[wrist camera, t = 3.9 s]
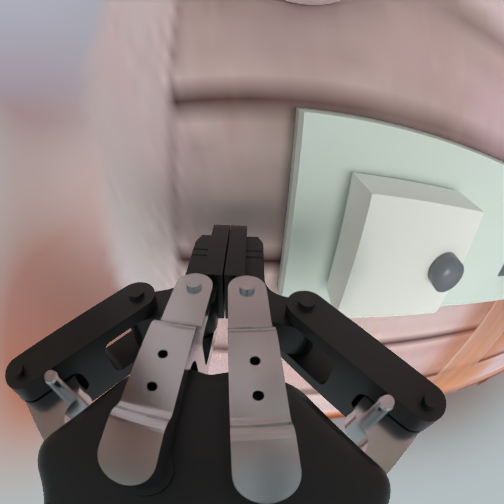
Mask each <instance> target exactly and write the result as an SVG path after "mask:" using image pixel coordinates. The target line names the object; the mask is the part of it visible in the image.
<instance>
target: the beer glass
mask: <svg viewBox="0 0 504 504" xmlns="http://www.w3.org/2000/svg"><path fill="white" fill-rule="evenodd" d="M285 1H288V2H292V3H296V4H303V5H325V4H331V3H334V2H338V1H340V0H285Z"/></svg>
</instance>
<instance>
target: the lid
mask: <svg viewBox="0 0 504 504" xmlns="http://www.w3.org/2000/svg"><path fill="white" fill-rule="evenodd" d="M483 215H484V212H483V211H482V210H481V209H480V208H479V207H477V206H476V205H475V204H474V203H473V202H471V201H470V200H469V199H468V198H466V197H465V196H464V195H463V194H461V193H460V192H459V191H455V190H451V189H446V188H442V187H437V186H432V185H427V184H422V183H417V182H412V181H406V180H401V179H395V178H389V177H382V176H376V175H369V174H362V173H354V172H353V173H352V178H351V184H350V189H349V194H348V199H347V204H346V209H345V213H344V218H343V222H342V227H341V231H340V235H339V240H338V244H337V248H336V252H335V256H334V260H333V264H332V268H331V271H330V275H329V279H328V283H327V286H326V288H327V291H328V295H329V298H330V302H331V305H332V306H333V307H335V308H336V309H337V310H339V311H340V312H341V313H343V314H344V315H345V316H346V317H348V318H368V317H387V316H403V315H416V314H427V313H436V312H437V310H438V308H439V307H440V305H441V303H442V301H443V300H444V298H445V296H446V294H447V293H448V291H449V290H450V289H452V288H453V287H454V286H455V285H456V284H457V283H458V282H459V281H460V279H461V278H462V276H463V273H464V266H463V262H464V260H465V258H466V255H467V253H468V251H469V249H470V247H471V244H472V242H473V240H474V237H475V235H476V233H477V230H478V228H479V225H480V223H481V220H482V217H483Z"/></svg>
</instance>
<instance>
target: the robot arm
mask: <svg viewBox="0 0 504 504" xmlns="http://www.w3.org/2000/svg"><path fill="white" fill-rule="evenodd" d="M224 314H226V318H228V369H229V372H228V373H222V374H215V375H208V370H209V365H210V360H211V356H212V351H213V346H214V342H215V337H216V328H217V323H218V318H224ZM130 328H131V330H132V331H130V332H129V333H127V334H126V335H124V336H123V337H122V338H120V339H119V340H117V341H116V342H114V343H113V344H111V345H110V346H108V347H107V348H106V346H107V344H108V343H109V342H111V341H112V340H113V339H115V338H116V337H118V336H119V335H121V334H122V333H124V332H125V331H127V330H128V329H130ZM281 357H282V358H283V359H284V360H285V361H286V362H287V363H288V364H289V365H290V366H291V367H292V368H293V369H294V370H295V371H296V372H297V373H298V374H299V375H300V376H301V377H303V378H304V379H305V380H306V381H307V382H308V383H309V384H310V385H311V386H312V387H313V388H314V389H315V390H317V391H318V392H319V393H320V394H321V395H322V396H323V397H324V398H325V399H326V400H327V401H329V402H330V403H331V404H332V405H333V406H334V407H335V408H336V409H338V410H339V411H340V412H341V413H342V414H343V415H344V416H345V417H346V419H345V430H346V432H347V434H348V435H349V436H350V438H351V439H352V440H351V439H350V438H348V437H347V436H346V435H345V434H344V433H343V432H342V431H341V430H340V429H339V428H338V427H337V426H336V425H335V424H334V423H333V422H332V421H331V420H330V419H329V418H328V417H327V416H326V415H325V414H324V413H323V412H322V411H321V410H320V409H319V408H318V407H317V406H316V405H315V404H314V403H313V402H312V401H311V400H310V399H309V398H308V397H307V396H306V395H305V394H304V393H302V392H301V391H300V390H298V389H297V388H295V387H294V386H292V385H290V384H288V383H285V379H284V372H283V366H282V360H281ZM129 374H130V376H128V375H129ZM127 376H128V377H127ZM125 377H126V378H125ZM5 378H6V382H7V384H8V385H9V386H10V387H11V388H12V389H13V390H14V391H15V392H16V393H17V394H18V395H19V396H20V397H21V399H22V400H23V401H25V402H26V404H27V406H28V408H29V411H30V413H31V415H32V417H33V419H34V422H35V423H36V426H37V428H38V430H39V432H40V434H41V436H42V438H43V439H44V442H43V444H42V445H41V448H40V450H39V454H38V469H39V473H40V477H41V480H42V486H43V492H44V504H388V503H389V499H390V483H389V479H388V477H387V475H386V474H387V473H388V472H389V471H390V470H391V468H392V467H393V466H394V465H395V464H396V462H397V461H398V460H399V458H400V457H401V456H402V455H403V453H404V452H405V451H406V450H407V448H408V447H409V445H410V444H411V443H412V441H413V440H414V438H415V437H416V436H417V434H418V433H420V432H421V431H423V430H424V429H426V428H427V427H429V426H430V425H431V424H433V423H434V422H435V421H437V420H438V419H439V418H441V416H442V415H443V414H444V412H445V408H446V399H445V396H444V394H443V392H442V391H441V390H440V389H439V388H438V387H437V386H436V385H434V384H433V383H432V382H431V381H429V380H428V379H427V378H425V377H424V376H423V375H422V374H420V373H419V372H418V371H416V370H415V369H414V368H413V367H411V366H410V365H409V364H407V363H406V362H405V361H404V360H402V359H401V358H400V357H398V356H397V355H396V354H394V353H393V352H392V351H391V350H389V349H388V348H387V347H385V346H384V345H383V344H382V343H380V342H379V341H378V340H376V339H375V338H374V337H372V336H371V335H370V334H369V333H367V332H366V331H365V330H363V329H362V328H361V327H359V326H358V325H357V324H356V323H354V322H353V321H352V320H350V319H349V318H348V317H346V316H345V315H344V314H343V313H341V312H340V311H339V310H337V309H336V308H335V307H333V306H332V305H331V304H329V303H328V302H327V301H326V300H324V299H323V298H322V297H320V296H319V295H317V294H316V293H313V292H310V291H297V292H294V293H292V294H291V295H290V296H289V297H285V296H281V295H278V294H276V293H274V292H272V291H271V290H270V289H269V288H268V287H267V286H266V284H265V280H264V258H263V243H262V242H261V240H260V239H259V238H258V237H247V226H234V225H231V230H230V225H214V228H213V232H212V235H202V236H201V237H200V238H199V239H198V240H197V241H196V243H195V246H194V250H193V252H192V256H191V259H190V262H189V265H188V269H187V272H186V275H185V276H183V277H181V278H180V279H179V280H178V281H177V283H176V285H175V287H174V288H172V289H168V290H163V291H157V292H155V291H154V288H153V287H152V286H151V285H149V284H147V283H143V282H138V283H133V284H130V285H128V286H127V287H125V288H123V289H122V290H120V291H118V292H117V293H115V294H114V295H112V296H110V297H108V298H107V299H105V300H104V301H102V302H100V303H99V304H97V305H96V306H94V307H92V308H91V309H89V310H88V311H86V312H84V313H83V314H81V315H80V316H78V317H76V318H75V319H73V320H72V321H70V322H69V323H67V324H65V325H64V326H62V327H61V328H59V329H58V330H56V331H55V332H53V333H52V334H50V335H49V336H47V337H45V338H44V339H43V340H41V341H39V342H38V343H36V344H35V345H33V346H32V347H30V348H29V349H27V350H26V351H24V352H23V353H22V354H20V355H19V356H17V357H16V358H14V359H13V360H12V361H11V362H10V363H9V365H8V367H7V369H6V374H5ZM124 378H125V379H124ZM122 379H123V380H122ZM118 382H119V383H118ZM116 383H117V384H116ZM114 385H115V386H114ZM113 386H114V387H113ZM111 387H112V388H111ZM110 388H111V389H110ZM109 389H110V390H109ZM107 390H109V391H107ZM106 391H107V392H106ZM105 392H106V393H105ZM103 393H105V394H104V395H102V394H103ZM100 395H102V396H101V397H99V396H100ZM98 397H99V398H98ZM96 398H98V399H97V400H96V401H94V402H93V403H92V401H93V400H95V399H96Z"/></svg>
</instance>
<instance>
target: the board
mask: <svg viewBox="0 0 504 504" xmlns="http://www.w3.org/2000/svg"><path fill="white" fill-rule="evenodd" d="M353 172H354V173H362V174H369V175H376V176H382V177H389V178H395V179H401V180H406V181H412V182H417V183H422V184H427V185H432V186H437V187H442V188H446V189H451V190H455V191H459V192H460V193H461V194H463V195H464V196H465V197H466V198H468V199H469V200H470V201H471V202H473V203H474V204H475V205H476V206H477V207H479V208H480V209H481V210H482V211H483V212H484V215H483V217H482V220H481V223H480V225H479V228H478V230H477V233H476V235H475V237H474V240H473V242H472V244H471V247H470V249H469V251H468V253H467V255H466V258H465V260H464V262H463V266H464V273H463V276H462V278H461V279H460V281H459V282H458V283H457V284H456V285H455V286H454V287H453V288H452V289H450V290H449V291H448V293H447V294H446V296H445V298H444V300H443V301H442V303H441V305H440V306H451V305H461V304H471V303H479V302H487V301H495V300H502V299H504V162H503V161H501V160H499V159H496V158H494V157H492V156H490V155H487V154H485V153H483V152H480V151H478V150H475V149H473V148H470V147H468V146H465V145H462V144H460V143H457V142H454V141H451V140H448V139H446V138H443V137H440V136H436V135H433V134H430V133H427V132H423V131H420V130H417V129H413V128H409V127H406V126H402V125H398V124H394V123H390V122H385V121H381V120H377V119H372V118H367V117H362V116H357V115H351V114H345V113H339V112H333V111H326V110H319V109H310V108H301V107H296V116H295V128H294V139H293V151H292V161H291V172H290V182H289V191H288V201H287V210H286V219H285V228H284V237H283V245H282V253H281V261H280V269H279V277H278V285H277V287H278V295H281V296H285V297H289V296H290V295H291V294H292V293H294V292H297V291H310V292H313V293H316V294H317V295H319V296H320V297H322V298H323V299H324V300H326V301H327V302H328V303H329V304H331V302H330V298H329V295H328V291H327V288H326V286H327V283H328V279H329V275H330V271H331V268H332V264H333V260H334V256H335V252H336V248H337V244H338V240H339V235H340V231H341V227H342V222H343V218H344V213H345V209H346V204H347V199H348V194H349V189H350V184H351V178H352V173H353Z"/></svg>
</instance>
